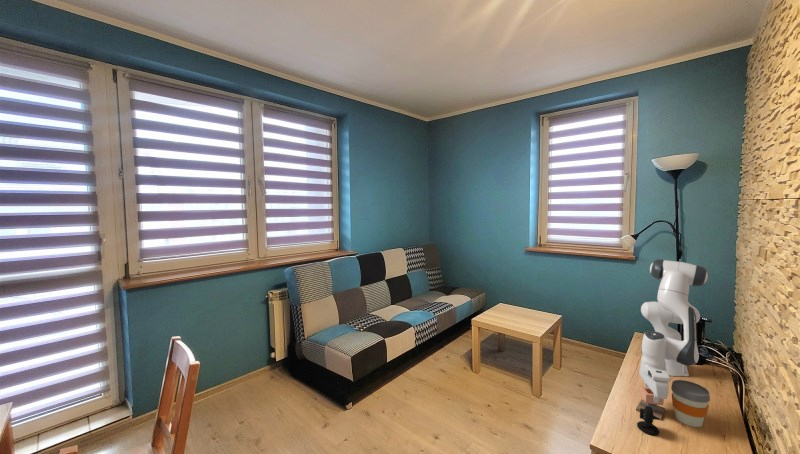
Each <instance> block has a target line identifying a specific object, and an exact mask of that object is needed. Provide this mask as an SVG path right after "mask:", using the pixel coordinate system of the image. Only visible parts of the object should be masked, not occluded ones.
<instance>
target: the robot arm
mask: <svg viewBox="0 0 800 454" xmlns="http://www.w3.org/2000/svg"><path fill="white" fill-rule="evenodd" d="M649 274H650V275H651V276H652V277H653V278H654V279H657V280H658V281H659V280H661V281H660V283H659V287H658V291H657V294H656V295H657V297H656V301H645V302H644V303H642V305H641V306H640V312H641V315H642V316H643V317H644V319H646V320H647V321H648V322H650V324H651V325H652V327H653V328H654V330H649V331H645V332H644V334H643V337H642V342H641V357H640V364H639V373H638V374H639V377H640V378H641V379H642V380H643V382H644V383H643V384H644V387H648V388H650V389H651V391H652V392H653V393H654V397H653V401H654V402H655V403H659V399H664V400H667V399H668V397H669V388H670V387H669V382H671V378H670V377H689V376H690V374H689V370H688V367H691V366H694V365H696V364H697V363H698V361H699V358H700V353H699V346H698V330H697V329H698V328H697V327H698V326H697V323H698V322H699V321H700V320H701V315H700V312H699V310H698V309H697V308H696V307H695V306H693V305H692V304H691V302H689V295H690V286H691V287H701V286H703V285H705V284H706V282H707V281H708V277H709V275H708V272H707V269H706V268H705V267H704V266H702V265H697V264H692V263H690V262H689V263H688V262H684V261H675V260H667V259H666V260H665V259H663V258H662V259H660V258H659V259H658V258H656V259H654V260H653V261H652V263H651V264H650V266H649ZM669 324H679V325H683V340H682V335H681V333H680V332H679V331H678V330H676V329H675V328H672V327H671V326H669Z"/></svg>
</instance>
